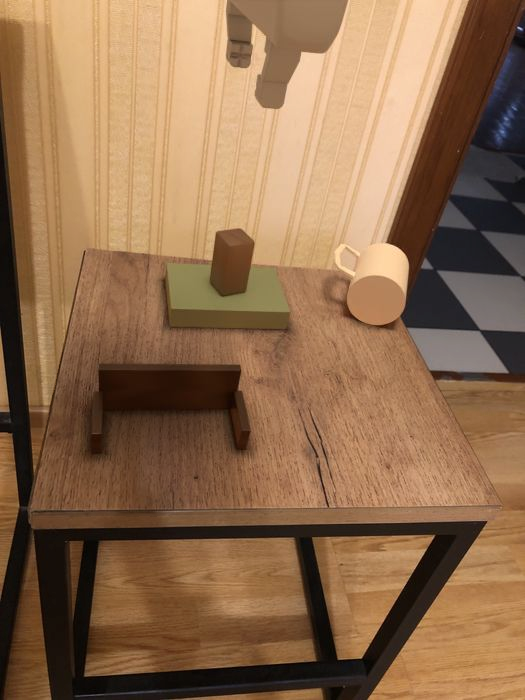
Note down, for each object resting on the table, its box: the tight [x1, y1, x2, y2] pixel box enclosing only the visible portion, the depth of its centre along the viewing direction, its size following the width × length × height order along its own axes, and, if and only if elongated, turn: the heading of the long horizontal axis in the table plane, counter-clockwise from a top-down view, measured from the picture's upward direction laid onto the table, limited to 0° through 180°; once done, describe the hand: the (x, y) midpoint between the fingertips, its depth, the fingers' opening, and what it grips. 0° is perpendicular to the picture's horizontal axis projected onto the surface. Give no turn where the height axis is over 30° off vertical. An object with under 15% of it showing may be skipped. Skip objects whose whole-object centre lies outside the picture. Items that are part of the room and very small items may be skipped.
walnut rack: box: [90, 363, 252, 454], centre depth 61 cm, size 16×7×6 cm, turn 100°
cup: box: [333, 242, 410, 326], centre depth 86 cm, size 8×12×10 cm
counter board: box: [164, 262, 291, 330], centre depth 81 cm, size 16×11×3 cm
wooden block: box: [210, 227, 256, 296], centre depth 78 cm, size 4×4×8 cm
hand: (251, 83), depth 44 cm, fingers open, 8 cm apart
